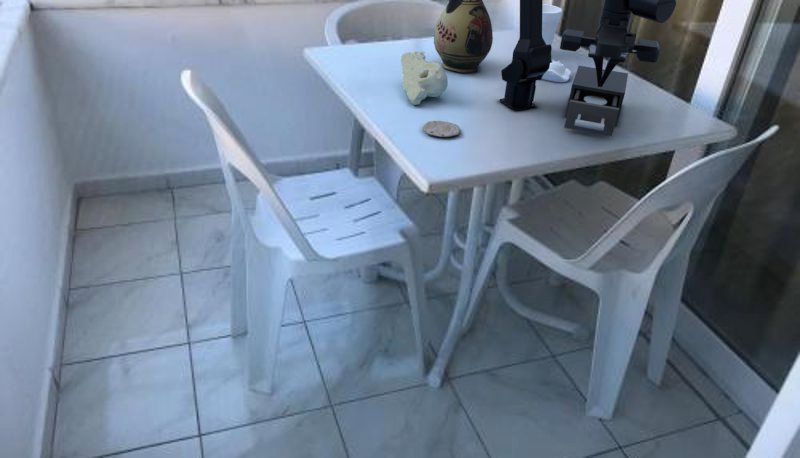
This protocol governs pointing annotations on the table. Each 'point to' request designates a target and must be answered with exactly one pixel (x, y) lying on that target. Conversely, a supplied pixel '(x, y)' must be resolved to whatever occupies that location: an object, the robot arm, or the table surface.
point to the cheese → (422, 77)
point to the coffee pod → (595, 100)
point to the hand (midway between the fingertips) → (599, 86)
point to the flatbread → (441, 128)
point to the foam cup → (550, 22)
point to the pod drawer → (592, 113)
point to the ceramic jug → (463, 35)
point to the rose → (557, 72)
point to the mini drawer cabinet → (588, 81)
